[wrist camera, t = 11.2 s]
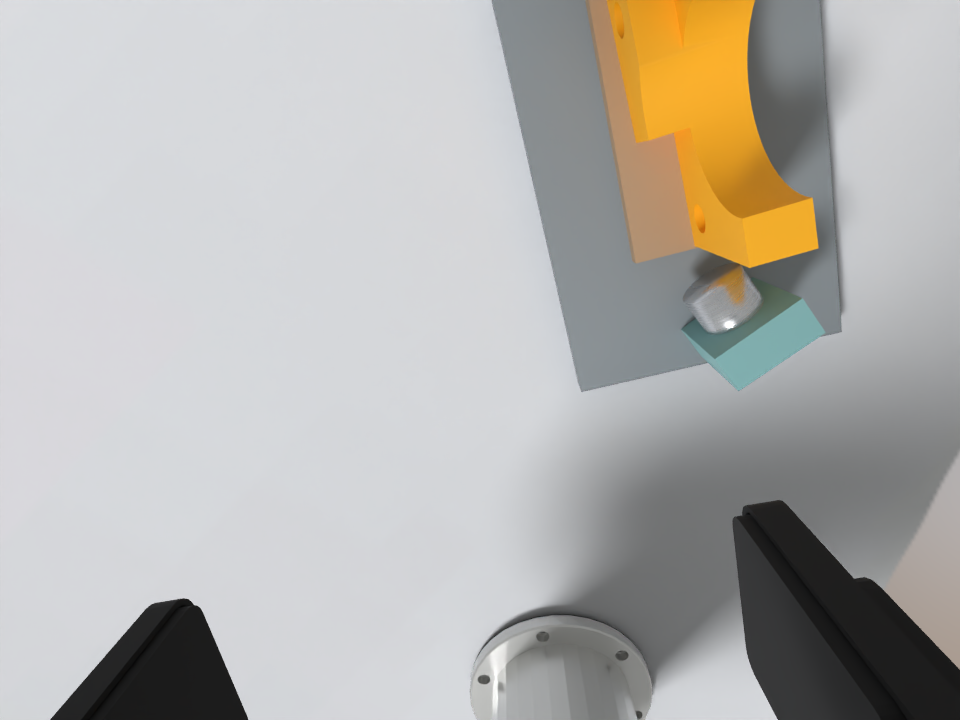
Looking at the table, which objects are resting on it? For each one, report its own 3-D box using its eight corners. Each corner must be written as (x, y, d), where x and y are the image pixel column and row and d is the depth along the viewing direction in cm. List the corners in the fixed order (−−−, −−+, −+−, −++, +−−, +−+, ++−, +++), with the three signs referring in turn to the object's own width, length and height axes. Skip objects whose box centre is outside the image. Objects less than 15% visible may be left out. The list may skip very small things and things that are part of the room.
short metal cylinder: (773, 325, 29) (803, 342, 26) (722, 360, 30) (746, 380, 27) (726, 258, 28) (752, 268, 25) (675, 295, 29) (694, 309, 26)
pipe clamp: (604, -9, 24) (639, -69, 18) (704, -45, 24) (775, -119, 18) (659, 256, 28) (703, 280, 22) (747, 230, 27) (818, 248, 21)
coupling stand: (829, 325, 31) (906, 362, 25) (578, 384, 32) (595, 431, 27) (785, -268, 23) (883, -419, 17) (457, -152, 24) (443, -253, 19)
